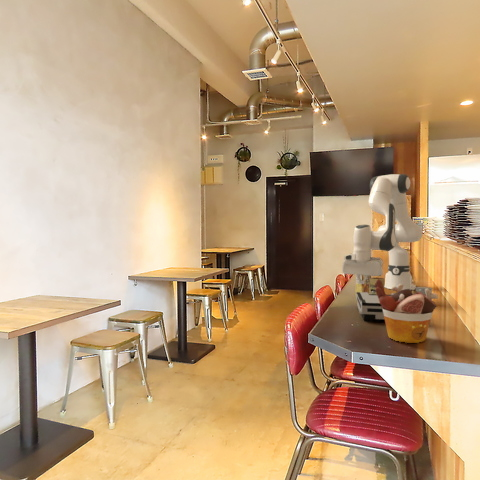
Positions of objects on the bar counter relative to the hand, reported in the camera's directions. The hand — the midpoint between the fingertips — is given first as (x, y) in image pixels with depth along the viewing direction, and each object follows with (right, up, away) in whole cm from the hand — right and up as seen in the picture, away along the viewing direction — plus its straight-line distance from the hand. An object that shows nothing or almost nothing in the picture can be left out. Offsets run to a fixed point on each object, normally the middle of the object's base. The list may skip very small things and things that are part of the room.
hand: (362, 283), depth 201 cm
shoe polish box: (+6, -9, -4) cm, 12 cm away
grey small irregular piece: (+27, -9, -10) cm, 30 cm away
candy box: (+4, -8, +12) cm, 15 cm away
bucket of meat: (-7, -11, -67) cm, 69 cm away
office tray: (0, -10, -31) cm, 33 cm away
